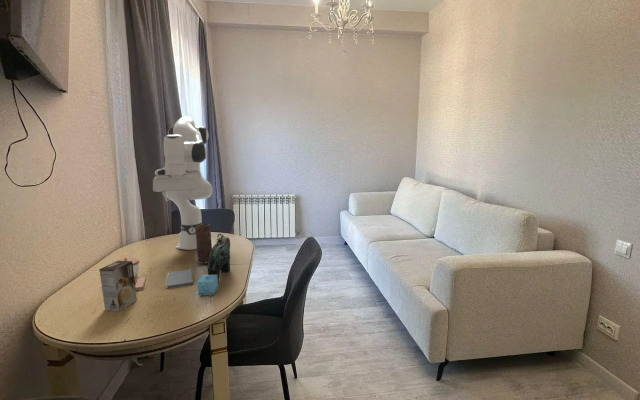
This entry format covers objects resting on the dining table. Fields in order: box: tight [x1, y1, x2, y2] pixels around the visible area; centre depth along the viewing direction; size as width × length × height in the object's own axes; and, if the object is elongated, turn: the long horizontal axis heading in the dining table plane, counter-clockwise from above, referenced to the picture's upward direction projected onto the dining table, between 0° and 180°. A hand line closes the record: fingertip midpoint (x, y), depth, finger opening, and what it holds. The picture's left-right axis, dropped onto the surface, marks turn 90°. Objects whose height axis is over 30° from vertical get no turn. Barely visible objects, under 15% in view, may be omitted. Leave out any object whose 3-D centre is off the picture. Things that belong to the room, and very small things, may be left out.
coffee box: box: [98, 260, 138, 312], centre depth 123 cm, size 9×6×16 cm
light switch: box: [134, 272, 147, 291], centre depth 140 cm, size 10×8×5 cm
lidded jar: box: [112, 257, 140, 276], centre depth 150 cm, size 11×11×9 cm
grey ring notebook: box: [165, 268, 194, 290], centre depth 147 cm, size 16×11×1 cm
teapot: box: [197, 274, 219, 297], centre depth 133 cm, size 12×6×8 cm, turn 3°
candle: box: [195, 223, 213, 264], centre depth 167 cm, size 8×7×20 cm
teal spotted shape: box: [207, 233, 231, 285], centre depth 148 cm, size 20×6×20 cm, turn 177°
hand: (178, 200), depth 153 cm, fingers open, 8 cm apart
